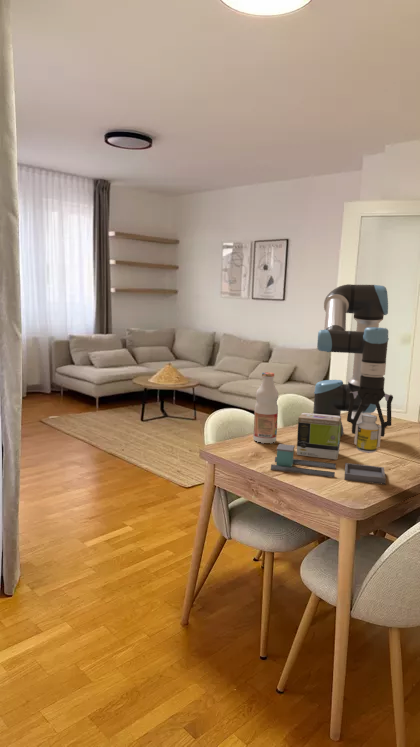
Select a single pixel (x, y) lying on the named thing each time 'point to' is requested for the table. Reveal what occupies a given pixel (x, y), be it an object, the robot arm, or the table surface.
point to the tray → (364, 473)
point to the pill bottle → (367, 434)
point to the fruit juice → (266, 410)
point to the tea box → (318, 435)
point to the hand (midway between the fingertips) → (366, 444)
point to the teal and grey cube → (285, 455)
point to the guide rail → (304, 470)
